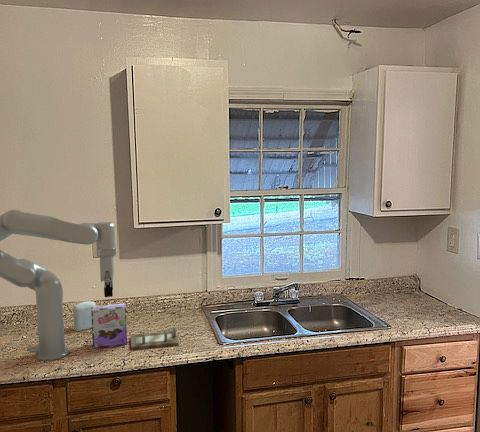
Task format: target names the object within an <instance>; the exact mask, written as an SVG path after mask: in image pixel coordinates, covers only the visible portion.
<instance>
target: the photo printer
mask: <svg viewBox="0 0 480 432" xmlns="http://www.w3.org/2000/svg"><path fill="white" fill-rule="evenodd" d="M92 306H97V305H96V302H95V301H92V300H91V301H89V300H88V301H82V302H80V303H76V304H75V305H73V309H72V311H73V330H74V332H79V331H80V332H81V331H84V330H85V331H86V330H89V329H92V312H91V311H92Z"/></svg>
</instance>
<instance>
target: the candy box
mask: <svg viewBox="0 0 480 432" xmlns="http://www.w3.org/2000/svg"><path fill="white" fill-rule="evenodd" d="M91 312H92V328H91V336H92V337H91V338H92V348H93V349H99V348H107V347H109V348H110V347H116V346H117V347H118V346H126V345H128V336H127V331H128V329H127V307H126V303H115V304H114V303H113V304H101V305H96V306H92V311H91Z"/></svg>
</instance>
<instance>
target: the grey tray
mask: <svg viewBox="0 0 480 432" xmlns="http://www.w3.org/2000/svg"><path fill="white" fill-rule="evenodd" d="M176 328H177V327H175V326H174V327H172V330H171V331H163V332H162V331H160V332H152V333H151V332H150V333H141V334H132V335H130V345H131V351H137V350H145V349H147V348H148V349H156V347H157V348H166V346H167V347H174V346H176V345H177V346H180V343H179V342H180V341H179V339H178V337H177V336H178V335H177V333H176V332H177V329H176ZM148 349H147V350H148Z"/></svg>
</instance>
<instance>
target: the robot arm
mask: <svg viewBox="0 0 480 432" xmlns="http://www.w3.org/2000/svg"><path fill="white" fill-rule="evenodd" d="M11 235H19V236H28V237H35V238H41V239H42V238H43V239H47V240H52V241H60V242H65V243H71V244H78V245H87V246H89V245H93V244H94V243H95V242H96V244H95V245H96V247H95V248H96V257H97V258H98V259H99V272H100V282H101V283H104V285H103V286H104V287H103V291H104V292H103V293H104V295H103V296H104V298H111V297H113V296H114V295H113V289H114V288H113V287H114V286H113V284H114V283H113V281H114V273H115V272H114V271H115V270H114V264H115V263H114V257H116V256H117V248H116V247H117V245H116V244H117V243H116V228H115V224H114V222H111V221H101V222H98V223H96V222H94V223H93V222H83V223H74V222H69V221H65V220H61V219H59V218H57V217H53V216H50V215H43V214H42V215H41V214H36V213H31V212H24V211H20V210H19V209H9V210H8V211H6V212H4V213H2V214H1V215H0V242H2V241H4V240H5V239H6V238H8V237H10V236H11ZM0 278H1V279H3V280H5V281H7V282H9V283H11V284H13V285H15V286H16V287H19V288H28V289H30V290H32V291H34V292H35V300H36V301H35V302H36V304H35V305H36V320H37V321H36V322H37V323H36V324H37V335H38V336H37V337H38V344H36V345H27V347H26V351H27V352H29V353H32V354H33V353H35V354H34V355H35V356H34V357H35V359H36V360H39V361H46V362H47V361H54V360H59V359H62V358H64V357H67V356H68V355H69V354H70V348H69V347H68V346H66V345H65V326H64V323H65V322H64V311H63V310H64V309H63V308H64V307H63V304H64V303H63V295H64V294H63V293H64V292H63V291H64V290H63V285H62V283H61V281H60V279H59V278H58V276H57V275H56V274H55V273H54V272H52V271H50V270H48V269H46V268H45V267H43V266H41V265H40V264H37V263H36V262H33V261H31V260H29V259H26V258H17V257H14V256H12V255H11V254H9V253H7V252H4V251H2V250H1V249H0Z"/></svg>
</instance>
